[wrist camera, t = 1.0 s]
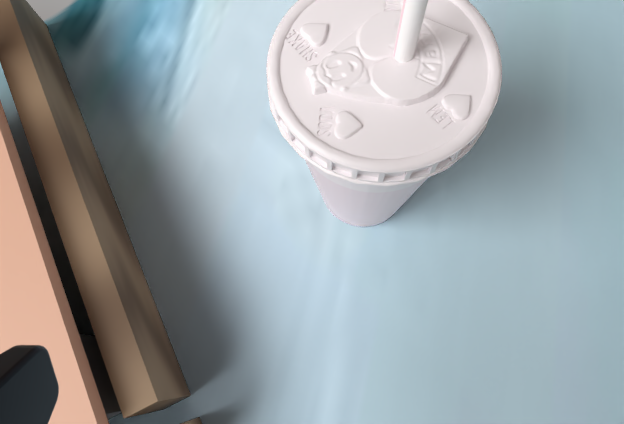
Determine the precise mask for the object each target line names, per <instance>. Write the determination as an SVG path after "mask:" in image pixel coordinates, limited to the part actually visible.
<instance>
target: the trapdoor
mask: <svg viewBox="0 0 624 424" xmlns="http://www.w3.org/2000/svg"><path fill="white" fill-rule="evenodd" d="M16 345H41V346H44V347H45V348H46V349H47V350H48V353H49V356H50V359H51V362H52V365H53V368H54V372H55V375H56V378H57V381H58V386H59V394H58V399H57V402H56V405H55V407H54V410H53V412H52V415H51V417H50V420H49V422H48V424H109V422H108V419H110V418H112V417H114V416H116V415H118V414H120V413H122V412H121V409H120V406H119V403H118V401H117V398H116V395H115V392H114V389H113V386H112V383H111V380H110V377H109V375H108V372H107V369H106V366H105V363H104V360H103V357H102V354H101V351H100V349H99V346H98V343H97V340H96V337H95V336H90V335H83V334H79V333H78V330H77V327H76V324H75V321H74V318H73V315H72V312H71V309H70V306H69V303H68V300H67V297H66V294H65V291H64V288H63V285H62V282H61V279H60V276H59V273H58V270H57V267H56V264H55V261H54V258H53V255H52V252H51V249H50V246H49V243H48V240H47V238H46V235H45V232H44V229H43V226H42V223H41V220H40V217H39V214H38V211H37V208H36V205H35V202H34V199H33V196H32V193H31V190H30V187H29V184H28V181H27V178H26V175H25V172H24V169H23V166H22V163H21V160H20V157H19V154H18V151H17V148H16V145H15V142H14V139H13V136H12V133H11V130H10V127H9V124H8V122H7V119H6V116H5V113H4V110H3V107H2V104H1V101H0V354H1V353H3V352H4V351H6V350H8V349H10V348H11V347H13V346H16Z"/></svg>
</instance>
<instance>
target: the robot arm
mask: <svg viewBox="0 0 624 424" xmlns="http://www.w3.org/2000/svg"><path fill="white" fill-rule="evenodd" d="M58 394H59V386H58V381H57V378H56V375H55V372H54V368H53V365H52V362H51V359H50V356H49V353H48V350H47V349H46V348H45V347H44V346H41V345H16V346H13V347H11V348H10V349H8V350H6V351H4V352H3V353H1V354H0V424H48V422H49V420H50V417H51V415H52V412H53V410H54V407H55V405H56V402H57V399H58Z"/></svg>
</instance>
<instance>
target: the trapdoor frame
mask: <svg viewBox="0 0 624 424" xmlns="http://www.w3.org/2000/svg"><path fill="white" fill-rule="evenodd" d="M0 62H1V65H2V68H3V71H4V74H5V77H6V80H7V82H8V85H9V88H10V91H11V94H12V97H13V100H14V103H15V106H16V109H17V111H18V114H19V117H20V120H21V123H22V126H23V129H24V132H25V135H26V137H27V140H28V143H29V146H30V149H31V152H32V155H33V158H34V161H35V163H36V166H37V169H38V172H39V175H40V178H41V181H42V184H43V187H44V189H45V192H46V195H47V198H48V201H49V204H50V207H51V210H52V213H53V216H54V218H55V221H56V224H57V227H58V230H59V233H60V236H61V239H62V242H63V244H64V247H65V250H66V253H67V256H68V259H69V262H70V265H71V268H72V270H73V273H74V276H75V279H76V282H77V285H78V288H79V291H80V294H81V296H82V299H83V302H84V305H85V308H86V311H87V314H88V317H89V320H90V322H91V325H92V328H93V331H94V334H95V337H96V340H97V343H98V346H99V349H100V351H101V354H102V357H103V360H104V363H105V366H106V369H107V372H108V375H109V377H110V380H111V383H112V386H113V389H114V392H115V395H116V398H117V401H118V403H119V406H120V409H121V412H122V415H123V418H128V417H133V416H137V415H141V414H146V413H150V412H154V411H158V410H163V409H165V408H167V407H169V406H171V405H173V404H175V403H177V402H179V401H181V400H183V399H185V398H187V397H189V396H191V394H190V392H189V389H188V386H187V384H186V381H185V379H184V376H183V374H182V371H181V369H180V366H179V363H178V361H177V358H176V356H175V353H174V351H173V348H172V346H171V343H170V340H169V338H168V335H167V333H166V330H165V328H164V325H163V322H162V320H161V317H160V315H159V312H158V310H157V307H156V305H155V302H154V299H153V297H152V294H151V292H150V289H149V287H148V284H147V282H146V279H145V276H144V274H143V271H142V269H141V266H140V264H139V261H138V258H137V256H136V253H135V251H134V248H133V246H132V243H131V241H130V238H129V235H128V233H127V230H126V228H125V225H124V223H123V220H122V217H121V215H120V212H119V210H118V207H117V205H116V202H115V200H114V197H113V194H112V192H111V189H110V187H109V184H108V182H107V179H106V177H105V174H104V171H103V169H102V166H101V164H100V161H99V159H98V156H97V153H96V151H95V148H94V146H93V143H92V141H91V138H90V136H89V133H88V130H87V128H86V125H85V123H84V120H83V118H82V115H81V113H80V110H79V107H78V105H77V102H76V100H75V97H74V95H73V92H72V89H71V87H70V84H69V82H68V79H67V77H66V74H65V72H64V69H63V66H62V64H61V61H60V59H59V56H58V54H57V51H56V48H55V46H54V43H53V41H52V38H51V36H50V33H49V31H48V28H47V25H46V24H45V23H44V22H43V20H42V19H41V18H40V17H39V16H38V14H37V13H36V12H35V11H34V10H33V8H32V7H31V6H30V5H29V4H28V2H27V1H26V0H0ZM181 424H202V422H201V420H200V417H198V418H195V419H192V420H189V421H186V422H184V423H181Z"/></svg>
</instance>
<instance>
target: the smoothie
mask: <svg viewBox="0 0 624 424" xmlns="http://www.w3.org/2000/svg"><path fill="white" fill-rule="evenodd" d="M501 81H502V64H501V57H500V52H499V49H498V45H497V42H496V40H495V37H494V35H493V33H492V31H491V29H490V27H489V25H488V24H487V22H486V21H485V19H484V18H483V16H482V15H481V14H480V13H479V12H478V10H477V9H476V8H475V7H474V6H473V5H472V4H471V3H470V2H469V1H468V0H298V1H297V2H296V3H295V4H294V5H293V6H292V7H291V8H290V9H289V10H288V12H287V13H286V14H285V16H284V17H283V18H282V20H281V22H280V23H279V25H278V27H277V29H276V31H275V33H274V35H273V37H272V40H271V43H270V47H269V51H268V57H267V87H268V94H269V101H270V109H271V112H272V114H273V116H274V119H275V121H276V123H277V125H278V127H279V129H280V132H281V134H282V136H283V137H284V138H285V139H286V140H287V141H288V143H289V144H290V145H291V146H292V147H293V148H294V149H295V151H296V152H297V153H298V154H299V155H300V156H301V157H302V158H303V159H305V161H306V163H307V165H308V167H309V169H310V172H311V174H312V176H313V178H314V180H315V182H316V185H317V187H318V189H319V191H320V193H321V196H322V198H323V200H324V202H325V204H326V206H327V208H328V209H329V210H330V212H331V213H332V214H333V215H334V216H335V217H336V218H338V219H339V220H341V221H342V222H344V223H347V224H349V225H353V226H358V227H369V226H374V225H377V224H380V223H382V222H384V221H386V220H387V219H389V218H390V217H391V216H392V215H393V214H394V213H395V212H396V211H397V210H398V209H399V208H400V207H401V206H402V205H403V204H404V203H405V202H406V201H407V200H408V199H409V198H410V196H411V195H412V194H413V193H414V192H415V191H416V190H417V189H418V188H419V187H420V186H421V185H422V184H423V183H424V182H425V181H426V180H427V179H428V178H429V177H431V176H433V175H436V174H438V173H440V172H442V171H445V170H447V169H448V168H449V167H450V166H452V165H453V164H454V163H455V162H457V161H458V160H459V159H460V158H462V157H463V156H464V155H466V154H467V153H468V152H469V151H470V150H471V148H472V147H473V146H474V144H475V143H476V141H477V140H478V138H479V137H480V136H481V134H482V133H483V131H484V130H485V129H486V126H487V122H488V119H489V118H490V116H491V114H492V112H493V110H494V108H495V105H496V103H497V100H498V97H499V93H500V88H501Z"/></svg>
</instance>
